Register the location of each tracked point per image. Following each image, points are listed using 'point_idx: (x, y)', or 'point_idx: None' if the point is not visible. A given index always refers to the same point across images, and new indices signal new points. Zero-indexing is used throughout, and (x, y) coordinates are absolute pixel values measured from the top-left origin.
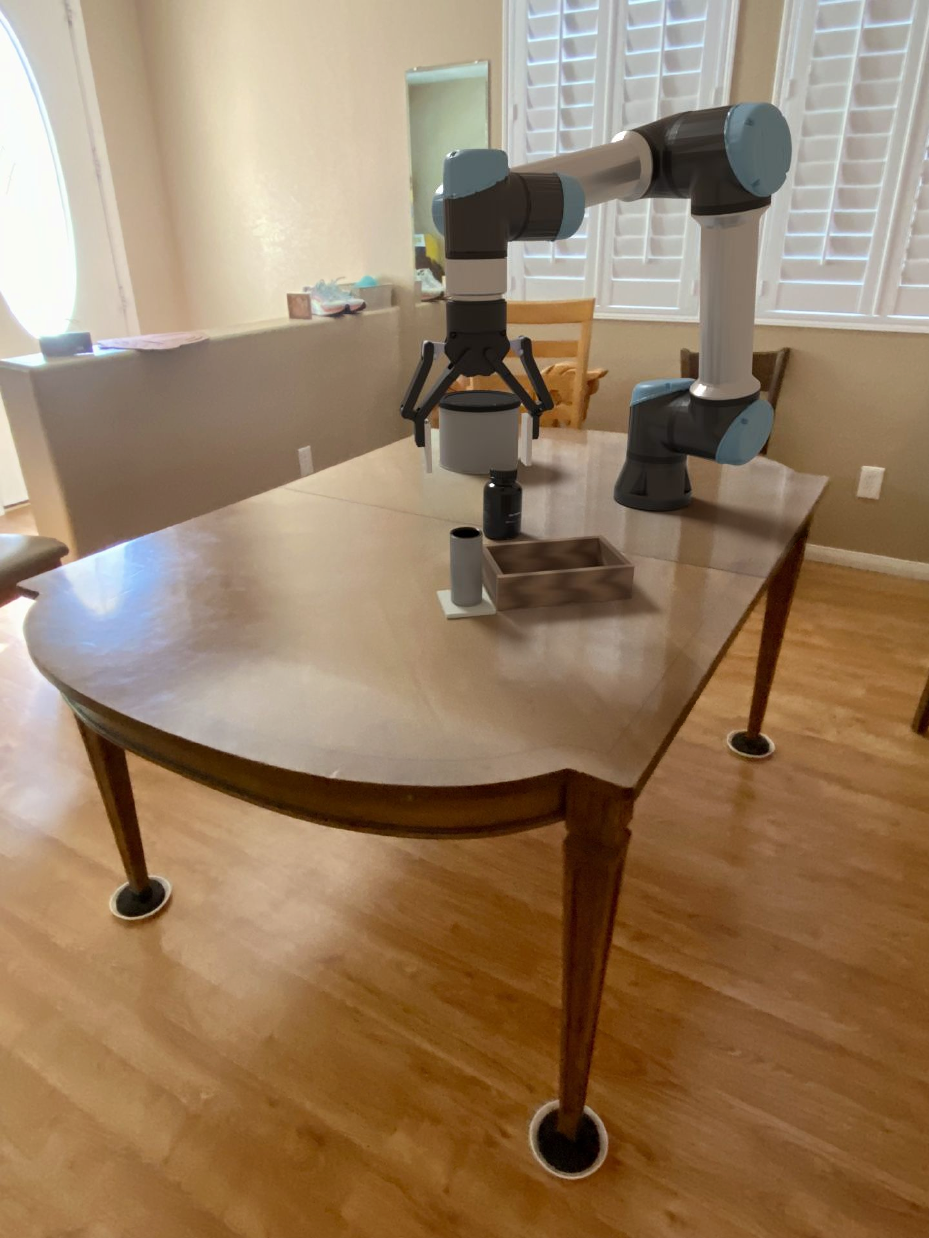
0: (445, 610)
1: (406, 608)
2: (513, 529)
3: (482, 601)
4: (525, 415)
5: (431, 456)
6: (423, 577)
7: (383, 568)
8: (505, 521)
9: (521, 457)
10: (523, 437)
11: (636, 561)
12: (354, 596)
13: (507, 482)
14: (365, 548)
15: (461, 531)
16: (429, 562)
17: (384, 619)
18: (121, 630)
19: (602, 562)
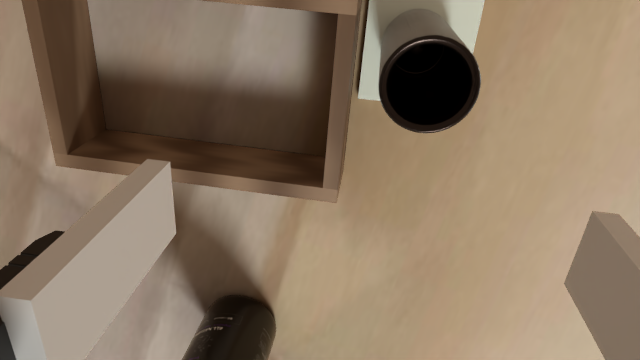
0: (481, 6)
1: (548, 62)
2: (222, 306)
3: (385, 26)
4: (38, 348)
5: (629, 255)
6: (453, 193)
7: (513, 256)
8: (233, 320)
9: (168, 234)
10: (120, 269)
11: (23, 131)
12: (628, 153)
13: None
14: (509, 344)
15: (427, 121)
16: (415, 252)
17: (620, 21)
18: None
19: (87, 107)
